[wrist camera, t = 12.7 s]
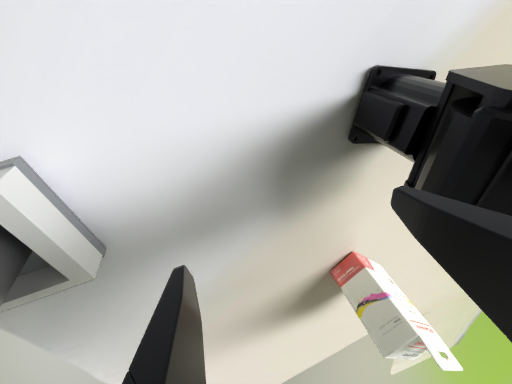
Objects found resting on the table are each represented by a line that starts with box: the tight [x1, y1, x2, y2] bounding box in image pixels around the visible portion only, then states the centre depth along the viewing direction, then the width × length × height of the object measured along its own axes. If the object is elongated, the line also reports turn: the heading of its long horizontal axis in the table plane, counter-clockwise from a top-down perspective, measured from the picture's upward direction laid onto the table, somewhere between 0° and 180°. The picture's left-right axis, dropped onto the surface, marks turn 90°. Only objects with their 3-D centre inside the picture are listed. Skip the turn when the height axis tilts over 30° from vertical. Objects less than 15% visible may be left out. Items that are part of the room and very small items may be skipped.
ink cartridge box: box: [330, 252, 463, 371], centre depth 31 cm, size 9×5×15 cm, turn 53°
